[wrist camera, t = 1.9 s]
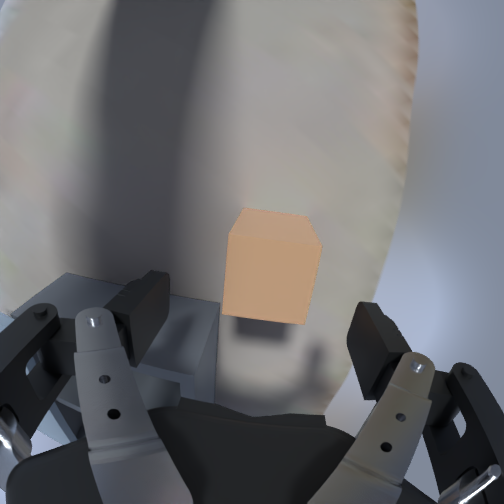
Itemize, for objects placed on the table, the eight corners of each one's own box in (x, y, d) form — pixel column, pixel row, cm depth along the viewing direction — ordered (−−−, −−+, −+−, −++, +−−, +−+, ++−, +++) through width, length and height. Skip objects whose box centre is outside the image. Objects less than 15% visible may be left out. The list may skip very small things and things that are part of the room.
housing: (66, 272, 20) (10, 314, 13) (219, 303, 20) (194, 375, 13) (99, 394, 26) (71, 438, 19) (213, 425, 25) (200, 483, 18)
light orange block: (243, 207, 17) (228, 233, 12) (307, 216, 17) (322, 246, 12) (237, 266, 19) (222, 314, 13) (296, 274, 19) (304, 324, 13)
